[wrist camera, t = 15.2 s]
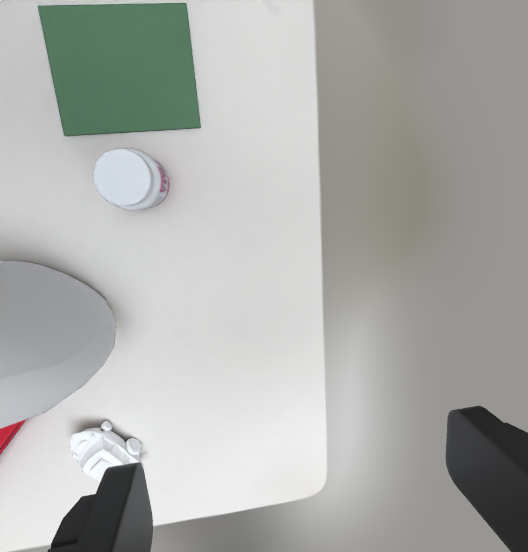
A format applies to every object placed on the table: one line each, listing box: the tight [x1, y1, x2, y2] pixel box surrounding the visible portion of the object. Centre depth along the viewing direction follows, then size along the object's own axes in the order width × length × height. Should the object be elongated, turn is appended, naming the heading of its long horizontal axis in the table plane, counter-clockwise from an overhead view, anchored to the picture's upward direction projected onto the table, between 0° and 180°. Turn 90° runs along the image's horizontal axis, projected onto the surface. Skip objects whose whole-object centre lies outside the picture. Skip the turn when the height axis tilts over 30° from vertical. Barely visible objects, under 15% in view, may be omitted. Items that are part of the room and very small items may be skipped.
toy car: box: [70, 421, 144, 481], centre depth 37 cm, size 5×8×4 cm, turn 46°
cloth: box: [38, 3, 201, 136], centre depth 31 cm, size 12×10×1 cm
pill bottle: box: [93, 148, 169, 210], centre depth 29 cm, size 5×5×8 cm
